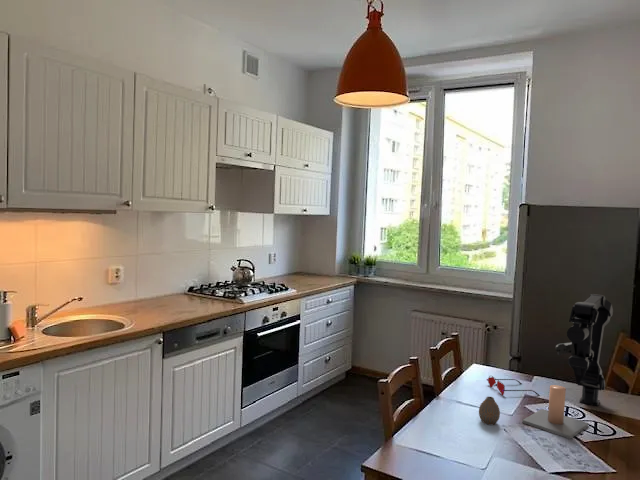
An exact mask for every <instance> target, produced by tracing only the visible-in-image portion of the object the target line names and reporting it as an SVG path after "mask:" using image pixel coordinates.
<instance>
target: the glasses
mask: <svg viewBox="0 0 640 480" xmlns="http://www.w3.org/2000/svg"><path fill="white" fill-rule="evenodd" d="M486 381H487V382H488V384H489V387H491V388H493V387H494V386H495V387H496V388H497V389H498V392H500V394H501V395H502V396H503V395H504V394H505V392H527V391H528V392H533V393H535V395H537V396H539V397H540V396H541V395H540V393H538V392H536V391H535V390H533V389H506V387H505V384H504V383H503V382H502V381H516V382H518V383H519V384H520V385H523V383H522V382H520V381H519V380H517V379H515V378H496V377H494V376H493V375H488V377H487V378H486Z"/></svg>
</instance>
